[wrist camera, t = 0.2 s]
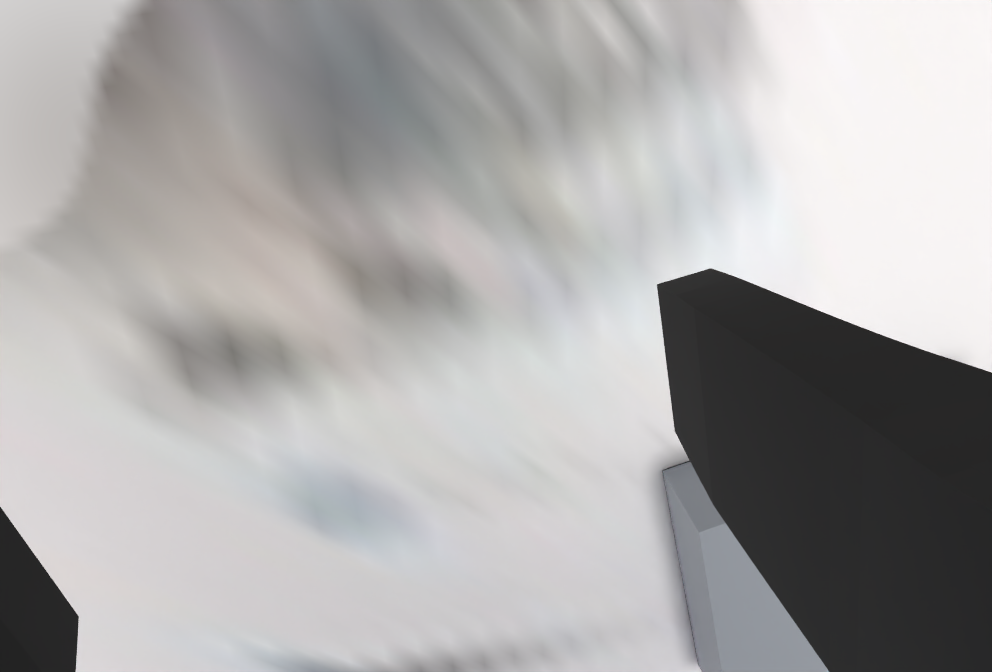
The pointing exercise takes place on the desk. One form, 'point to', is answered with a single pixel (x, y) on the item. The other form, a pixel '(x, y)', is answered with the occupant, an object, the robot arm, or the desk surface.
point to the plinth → (729, 591)
